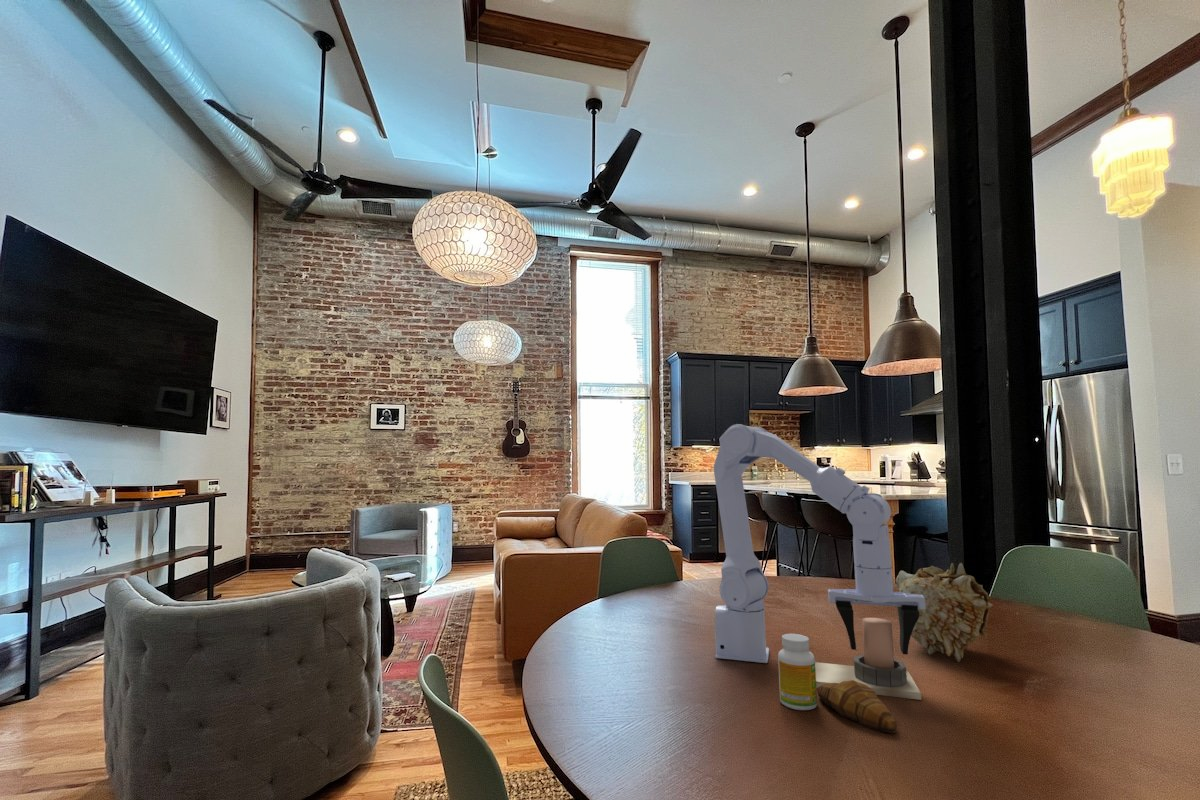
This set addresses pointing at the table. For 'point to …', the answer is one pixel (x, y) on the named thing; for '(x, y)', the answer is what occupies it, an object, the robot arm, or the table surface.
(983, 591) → the seashell
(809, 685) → the supplement bottle
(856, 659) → the holder board
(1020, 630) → the table surface
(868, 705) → the croissant
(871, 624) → the peg
